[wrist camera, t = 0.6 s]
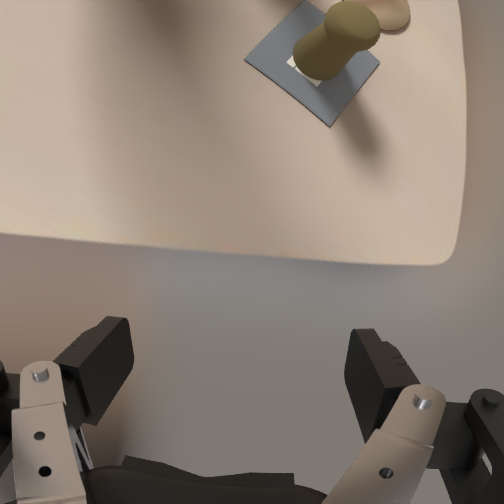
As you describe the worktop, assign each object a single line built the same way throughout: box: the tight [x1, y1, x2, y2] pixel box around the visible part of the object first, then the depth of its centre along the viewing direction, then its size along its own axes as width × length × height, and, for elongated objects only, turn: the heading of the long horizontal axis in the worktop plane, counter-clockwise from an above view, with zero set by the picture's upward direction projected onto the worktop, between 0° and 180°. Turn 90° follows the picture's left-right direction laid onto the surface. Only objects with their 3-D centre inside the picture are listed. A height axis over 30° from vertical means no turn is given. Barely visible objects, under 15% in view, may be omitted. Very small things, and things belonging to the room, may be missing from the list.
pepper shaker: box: [293, 1, 380, 81], centre depth 26 cm, size 6×6×11 cm
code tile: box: [244, 0, 380, 126], centre depth 31 cm, size 12×12×1 cm
